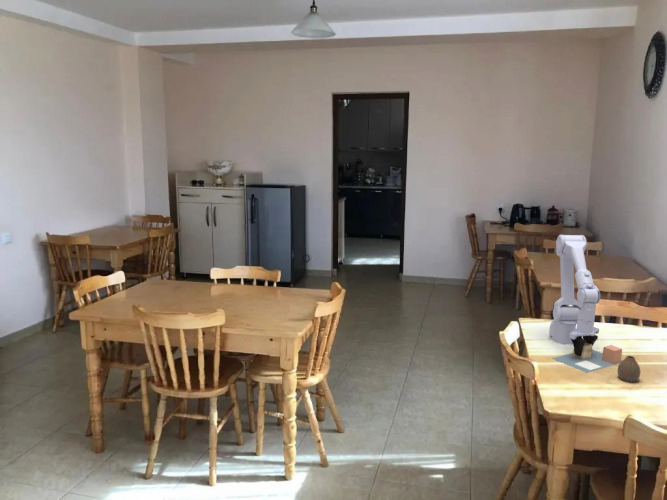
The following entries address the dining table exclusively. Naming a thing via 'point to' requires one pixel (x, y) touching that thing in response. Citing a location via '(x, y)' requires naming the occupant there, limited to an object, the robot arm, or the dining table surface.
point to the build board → (585, 362)
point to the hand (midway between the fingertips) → (582, 354)
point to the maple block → (585, 351)
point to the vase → (629, 370)
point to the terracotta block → (612, 354)
